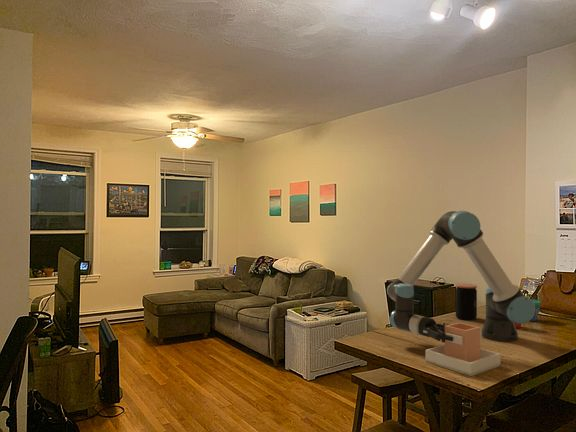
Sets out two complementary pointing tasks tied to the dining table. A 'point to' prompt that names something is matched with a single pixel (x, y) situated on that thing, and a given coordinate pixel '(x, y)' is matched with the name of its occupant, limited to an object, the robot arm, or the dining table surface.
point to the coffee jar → (466, 301)
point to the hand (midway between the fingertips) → (471, 338)
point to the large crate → (468, 368)
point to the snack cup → (536, 310)
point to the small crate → (470, 342)
